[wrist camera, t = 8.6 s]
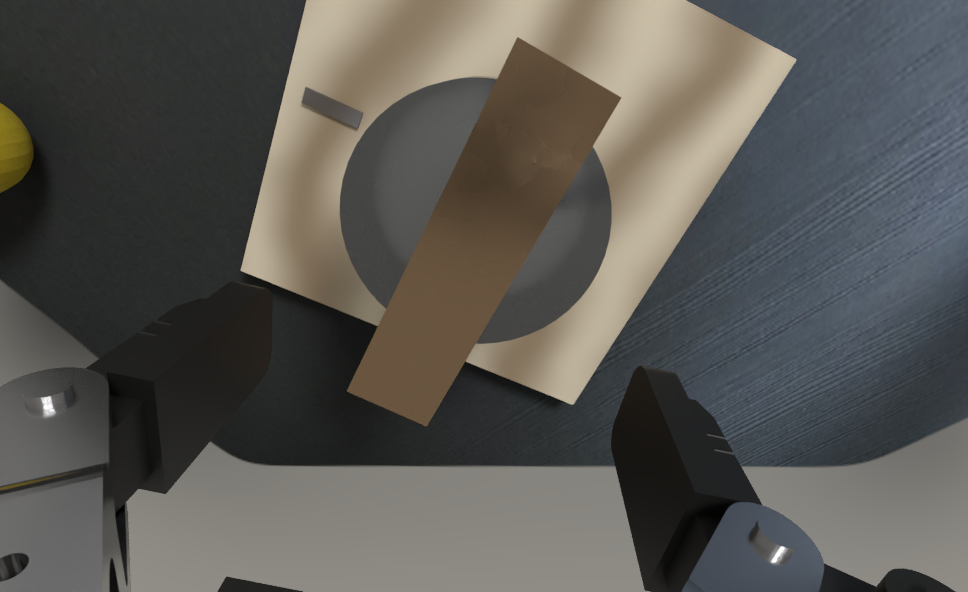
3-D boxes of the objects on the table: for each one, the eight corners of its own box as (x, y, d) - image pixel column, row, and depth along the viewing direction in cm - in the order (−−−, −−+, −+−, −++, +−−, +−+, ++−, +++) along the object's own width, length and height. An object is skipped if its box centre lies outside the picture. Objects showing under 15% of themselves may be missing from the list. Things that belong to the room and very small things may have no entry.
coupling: (449, 11, 23) (385, -40, 12) (632, 117, 24) (734, 163, 13) (351, 244, 28) (241, 366, 17) (508, 320, 30) (504, 479, 18)
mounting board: (781, 59, 25) (799, 59, 23) (570, 391, 34) (573, 406, 32) (360, -164, 22) (348, -181, 20) (252, 261, 31) (238, 271, 29)
